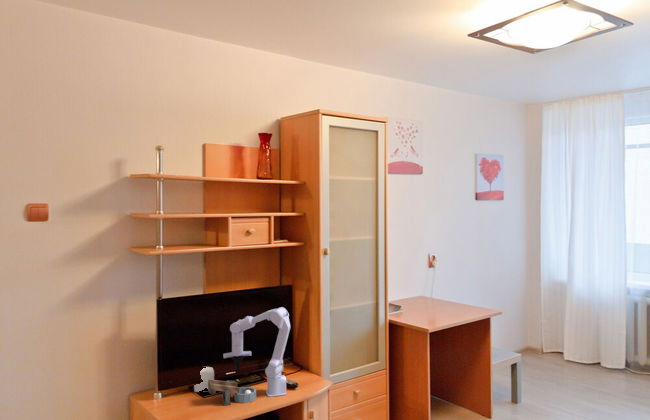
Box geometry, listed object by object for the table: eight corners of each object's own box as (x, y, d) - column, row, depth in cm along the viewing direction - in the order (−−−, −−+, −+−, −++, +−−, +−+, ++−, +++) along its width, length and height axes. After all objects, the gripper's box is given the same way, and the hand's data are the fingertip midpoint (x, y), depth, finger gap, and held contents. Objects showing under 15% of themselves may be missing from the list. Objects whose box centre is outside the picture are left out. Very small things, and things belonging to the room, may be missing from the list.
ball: (244, 389, 257) (243, 396, 256) (245, 391, 253) (244, 398, 253) (251, 388, 258) (250, 396, 258) (252, 391, 254) (251, 398, 254)
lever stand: (227, 396, 258) (227, 381, 258) (230, 405, 247) (230, 389, 247) (221, 397, 257) (221, 382, 257) (224, 405, 246) (224, 390, 246)
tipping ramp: (233, 386, 264) (235, 378, 264) (237, 397, 250) (239, 388, 250) (205, 383, 259) (207, 374, 260) (208, 393, 245) (210, 384, 245)
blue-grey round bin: (253, 393, 262) (253, 385, 262) (257, 401, 252) (257, 393, 252) (233, 396, 258) (233, 388, 258) (236, 403, 248) (236, 395, 248)
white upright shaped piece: (194, 392, 263) (194, 369, 263) (194, 390, 267) (194, 366, 267) (214, 391, 265) (214, 367, 265) (214, 388, 269) (214, 365, 269)
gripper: (249, 341, 275) (249, 366, 275) (222, 343, 270) (222, 369, 270) (252, 344, 268) (252, 370, 268) (224, 347, 263) (224, 373, 263)
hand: (237, 370), depth 269 cm, fingers closed
